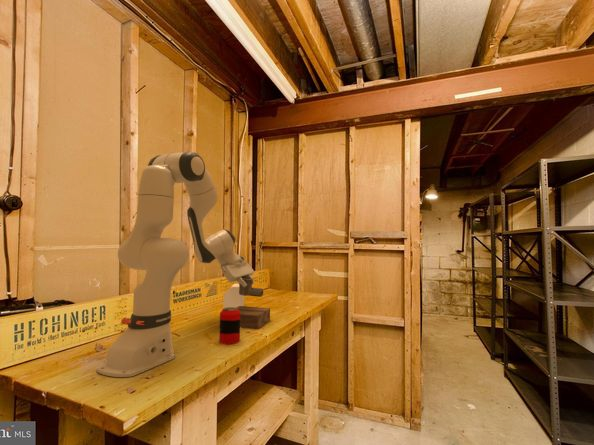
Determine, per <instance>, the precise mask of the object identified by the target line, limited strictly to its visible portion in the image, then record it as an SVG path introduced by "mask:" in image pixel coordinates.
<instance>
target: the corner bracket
mask: <svg viewBox="0 0 594 445" xmlns="http://www.w3.org/2000/svg"><path fill="white" fill-rule="evenodd" d="M222 299H223V300H222V301H223V307H222V308H228V307H235V308H236V307H238V306H245V296H244V295H240V294H239V283H233V284H232V285H231V286H230V287H229V288H228V289H227V290H226V291H225V292H224V293H223V298H222Z"/></svg>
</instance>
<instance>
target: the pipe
mask: <svg viewBox="0 0 594 445" xmlns="http://www.w3.org/2000/svg"><path fill="white" fill-rule="evenodd" d="M242 280H243V281H245V282H247V284H248V285H247V286H246V287H243V286H242V285H241V284H240V283H238V284H239V294H240V295H244V297H245V296H246V297H247V296H248V297H249V296H250V297H258V298H259V297H260V298H261V297H263V296H264V289H263V288H261V287H253V284H252V282H253V281H254V278H253V277H252V278H249V277H242Z"/></svg>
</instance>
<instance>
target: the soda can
mask: <svg viewBox="0 0 594 445" xmlns="http://www.w3.org/2000/svg"><path fill="white" fill-rule="evenodd" d="M218 340H219V343H220V344H222V345H235V344H238V342H240V341H241V328H240V311H239V310H238V308H235V307H223V309H222V310H221V311H220V312H219V339H218Z"/></svg>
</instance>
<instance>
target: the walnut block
mask: <svg viewBox="0 0 594 445" xmlns="http://www.w3.org/2000/svg"><path fill="white" fill-rule="evenodd" d="M236 308H238V310H239V311H240V329H241V328H242V329H249V330H259V329H260V328H262V327H264V326H265V325H266V324H267V323H269V322H270V321H271V308H269V307H259V306H247V305H246V306H245V305H244V306H238V307H236Z"/></svg>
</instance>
